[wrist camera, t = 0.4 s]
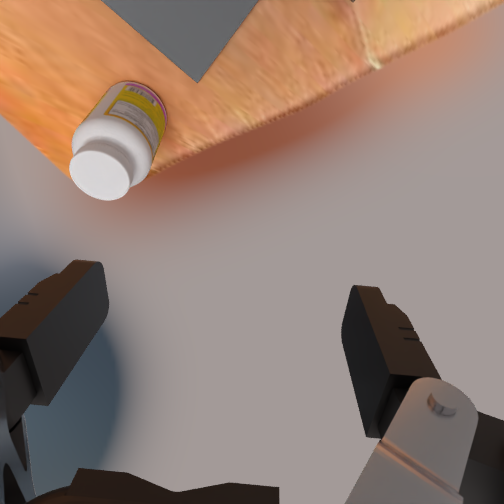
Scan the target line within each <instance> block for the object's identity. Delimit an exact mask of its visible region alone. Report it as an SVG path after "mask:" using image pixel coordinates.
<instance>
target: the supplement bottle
mask: <svg viewBox="0 0 504 504" xmlns="http://www.w3.org/2000/svg"><path fill="white" fill-rule="evenodd" d="M166 124H167V115H166V110H165V108H164V106H163V104H162V102H161V100H160V99H159V97H158V96H157V95H156V94H155V93H154V92H153V91H152V90H150V89H149V88H147V87H146V86H144V85H142V84H139V83H136V82H121V83H118V84H115V85H114V86H112V87H111V88H110V89H109V90H108V91H107V92H106V93H105V94H104V95H103V97H102V98H101V99H100V101H99V102H98V103H97V104H96V105H95V107H94V108H93V109H92V111H91V112H90V113H89V114H88V116H87V117H86V118H85V119H84V120H83V122H82V123H81V124H80V125H79V127H78V128H77V129H76V131H75V133H74V135H73V139H72V151H73V155H74V156H73V158H72V160H71V162H70V167H69V169H70V174H71V177H72V179H73V181H74V182H75V184H76V185H77V186H78V187H79V188H80V189H81V190H82V191H83V192H85V193H86V194H88V195H90V196H92V197H94V198H97V199H101V200H115V199H118V198H121V197H122V196H124V195H125V194H126V193H127V191H128V190H129V188H130V187H132V186H134V185H136V184H138V183H140V182H141V181H142V180H143V179H144V178H145V177H146V176H147V174H148V172H149V170H150V168H151V165H152V162H153V160H154V157H155V155H156V152H157V149H158V147H159V144H160V142H161V139H162V137H163V134H164V131H165V128H166Z"/></svg>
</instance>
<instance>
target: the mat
mask: <svg viewBox="0 0 504 504" xmlns="http://www.w3.org/2000/svg"><path fill="white" fill-rule="evenodd" d="M101 1H103V2H104V3H105V4H106V5H107V6H108V7H110V8H111V9H112V10H113V11H114V12H115V13H116V14H118V15H119V16H120V17H121V18H122V19H123V20H125V21H126V22H127V23H128V24H129V25H130V26H132V27H133V28H134V29H135V30H136V31H137V32H139V33H140V34H141V35H142V36H143V37H144V38H145V39H147V40H148V41H149V42H150V43H151V44H152V45H154V46H155V47H156V48H157V49H158V50H159V51H161V52H162V53H163V54H164V55H165V56H166V57H168V58H169V59H170V60H171V61H172V62H173V63H174V64H176V65H177V66H178V67H179V68H180V69H181V70H183V71H184V72H185V73H186V74H187V75H188V76H190V77H191V78H192V79H193V80H194V81H195V82H197V83H198V82H199V80H200V79H201V77H202V76H203V75H204V73H205V72H206V71H207V69H208V68H209V67H210V65H211V64H212V63H213V61H214V60H215V58H216V57H217V56H218V54H219V53H220V52H221V50H222V49H223V48H224V46H225V45H226V44H227V42H228V41H229V39H230V38H231V37H232V35H233V34H234V33H235V31H236V30H237V29H238V27H239V26H240V25H241V23H242V22H243V20H244V19H245V18H246V16H247V15H248V14H249V12H250V11H251V10H252V8H253V7H254V6H255V4H256V3H257V1H258V0H101Z"/></svg>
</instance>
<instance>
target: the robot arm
mask: <svg viewBox="0 0 504 504" xmlns="http://www.w3.org/2000/svg"><path fill="white" fill-rule="evenodd" d="M108 309H109V299H108V293H107V287H106V280H105V274H104V268H103V265H102V263H100V262H96V261H86V260H73V261H72V262H71V263H70V264H69V265H68V266H67V267H66V268H65V269H64V270H63V271H62V272H61V273H60V274H57V273H56V274H54V275H52V276H50V277H48V278H46V279H44V280H43V281H41V282H39V283H38V284H37V285H36V286H35V287H34V288H32V289H31V290H30V291H29V292H28V295H25V296H24V297H23V298H22V299H21V300H20V301H18V304H15V305H14V306H13V307H12V308H11V309H10V310H9V311H8V312H6V313H5V314H4V315H3V316H2V317H1V318H0V504H279V487H271V486H260V485H250V484H239V483H225V484H219V485H214V486H208V487H203V488H198V489H192V490H187V491H182V492H173V491H170V490H167V489H165V488H163V487H160V486H158V485H155V484H153V483H151V482H148V481H146V480H144V479H141V478H139V477H136V476H134V475H132V474H129V473H125V472H115V471H104V470H94V469H84V468H78V470H77V473H76V475H75V477H74V479H73V481H72V483H71V485H70V486H66V487H62V488H59V489H56V490H52V491H50V492H47V493H45V494H42V495H40V496H38V497H36V494H35V490H34V485H33V480H32V472H31V463H30V455H29V446H28V438H27V429H26V421H25V417H24V415H23V413H24V412H25V411H26V409H27V408H28V406H29V405H30V404H34V405H45V406H48V405H49V404H50V402H51V401H52V399H53V398H54V396H55V395H56V393H57V392H58V390H59V389H60V387H61V386H62V384H63V382H64V381H65V380H66V378H67V377H68V375H69V374H70V372H71V371H72V369H73V368H74V366H75V365H76V363H77V362H78V360H79V358H80V357H81V356H82V354H83V352H84V351H85V349H86V348H87V346H88V345H89V343H90V342H91V340H92V339H93V337H94V335H95V334H96V333H97V331H98V330H99V328H100V327H101V325H102V324H103V322H104V320H105V319H106V317H107V314H108ZM341 338H342V344H343V348H344V352H345V356H346V360H347V364H348V367H349V372H350V376H351V380H352V384H353V387H354V391H355V395H356V399H357V403H358V407H359V411H360V415H361V419H362V423H363V427H364V430H365V434H366V437H369V438H380V439H381V440H380V441H379V442H378V444H377V446H376V448H375V449H374V451H373V453H372V455H371V456H370V458H369V460H368V462H367V464H366V466H365V467H364V469H363V471H362V473H361V475H360V477H359V479H358V480H357V482H356V484H355V486H354V488H353V490H352V491H351V493H350V495H349V497H348V499H347V501H346V502H345V504H504V421H503V420H500V419H497V418H495V417H492V416H489V415H486V414H483V413H481V412H478V411H477V410H476V408H475V406H474V404H473V403H472V402H471V400H470V399H469V398H468V397H467V396H466V395H465V394H464V393H463V392H462V391H461V390H459V389H458V388H456V387H455V386H453V385H451V384H449V383H447V382H445V381H443V380H442V379H441V377H440V375H439V374H438V372H437V370H436V368H435V366H434V364H433V363H432V361H431V359H430V357H429V356H428V354H427V352H426V350H425V348H424V346H423V344H422V342H420V341H419V337H418V335H417V333H416V331H414V328H413V326H412V324H411V322H410V320H409V318H408V317H407V315H406V314H405V313H403V312H402V311H401V310H400V309H399V308H398V307H397V306H396V305H394V304H387V303H386V301H385V299H384V297H383V295H382V293H381V291H380V289H379V288H378V287H371V286H358V285H354V286H352V288H351V291H350V295H349V299H348V303H347V307H346V310H345V315H344V318H343V322H342V329H341Z"/></svg>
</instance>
